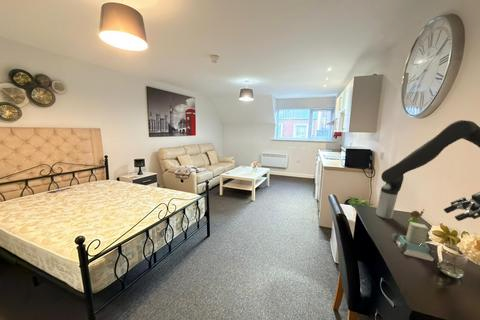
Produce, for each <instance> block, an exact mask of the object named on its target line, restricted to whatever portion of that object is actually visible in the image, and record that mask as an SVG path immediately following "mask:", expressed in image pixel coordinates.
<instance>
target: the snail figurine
mask: <svg viewBox="0 0 480 320" xmlns="http://www.w3.org/2000/svg"><path fill="white" fill-rule="evenodd" d="M424 212H425V209H424V208H423V209H422V210H421V211H420V212H419V211H418V210H412V211H411V213H410V218H409V219H408V220H407V223H408V224H409V223H410V222H414V223H419V224H420V221H419V219H420V218H422V217H423V214H424Z"/></svg>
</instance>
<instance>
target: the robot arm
mask: <svg viewBox="0 0 480 320" xmlns="http://www.w3.org/2000/svg"><path fill="white" fill-rule="evenodd" d="M461 139H463V140H465V141H467V142H469V143H471V144H473V145H475V146H477V147H478V148H479V149H480V126H479V125H478V124H476V122H475V121H470V120H466V119H460V120H455V121H453V122H451V123H450V124H448V126H446V127H445V128H443V130H442V131H440V132H439V133H438V134H437V135H436V136H434V137H433V138H431V139H430V140H428V141H426V142H425V143H424V144H422V145H421V146H419V147H417V149H415V150H414V151H412V152H411V153H410V154H408V155H407V156H405V157H404V158H403V159H401V160H400V161H399V162H397V163H396V164H394V165H391V167H388V168H387V169H385V170H384V171H383V172H382V173H381V176H380V177H381V179H382V181H383V182H384V183H385V184H384V185H383V186H381V187H380V188H381V189H380V193H379V197H378V200H377V201H378V202H377V207H376V209H375V210H376V211H375V215H376V216H377V217H380V218H382V219H386V220H391V219H392V218H393V213H394V210H395V207H396V202H397V198H398V194H399V192H400V190H401V188H402V185H403V182H404V174H406V173H408V172H410V171H413V170H416V169H419V168H421V167H423V166H425V165H427V164H428V163H430V162H431V161H433V160H434V159H436V158H437V157H438V156H439V155H440V154H441V153H442V151H444V150H445V148H447V147H449V146H451V145H452V144H453V143H456V142H457V141H460V140H461ZM456 210H461V211H462V210H465V212H462V213H459V214H457V215H455V216H454V218H455V220H456V221H458V222H459V221H460V222H461V221H462V220H466V219H467V218H469V219H471V218H472V219H473V220H476V219H479V218H480V191H479V192H476V193H474V194H472V195H471V198H469V199H467V198H466V197H465V196H464V197H460V198H458V199H456V200H454V201H451V202H450V205H449V206H448V207H445V208H443V211H444V212H445V213H447V214H449V213H451V212H454V211H456Z"/></svg>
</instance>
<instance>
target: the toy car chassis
mask: <svg viewBox="0 0 480 320" xmlns="http://www.w3.org/2000/svg"><path fill="white" fill-rule="evenodd" d="M405 239H406V235H402V234H397V233H392V235H391V240H392V241H393V242H395V243H396V245H397V247H398V249H399V251H400V253H403V254H404V255H405V256H410V257H414V258H419V259H422V260H425V261H431V262H434V261H436V260H437V259H438V257H437V256H438V255H437V252H436V251H435V250H431V249H430V247H429V246H428V245H427V243H426V242H425V243H424V246H421V245H420V246H419V245H417V244H412V243H408V242H406V241H405Z"/></svg>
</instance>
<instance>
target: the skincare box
mask: <svg viewBox="0 0 480 320" xmlns="http://www.w3.org/2000/svg"><path fill="white" fill-rule="evenodd" d="M428 232H429V228H428V226H427V225H426V224H423V223H420V222H419V223H414V222H410V223H408V228H407V231H406V235H405V236H406V239H405V241H406V242H408V243H412V244H417V245H420V244H421V243H422V244H421V246H424V243H425V244H426V239H427V235H428Z"/></svg>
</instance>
